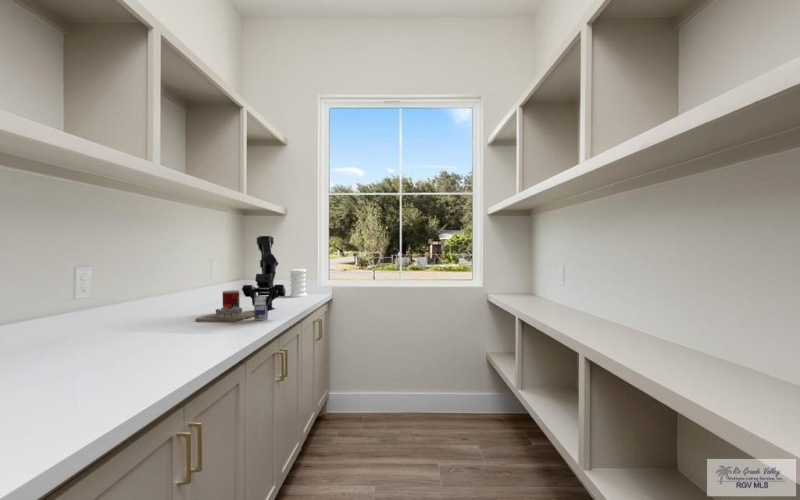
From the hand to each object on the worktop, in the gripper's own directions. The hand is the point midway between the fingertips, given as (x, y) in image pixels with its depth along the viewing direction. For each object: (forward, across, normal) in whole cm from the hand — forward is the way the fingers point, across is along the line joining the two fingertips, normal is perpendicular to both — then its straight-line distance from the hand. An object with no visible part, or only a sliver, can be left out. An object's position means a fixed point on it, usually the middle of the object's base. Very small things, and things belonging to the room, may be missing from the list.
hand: (259, 305), depth 188 cm
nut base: (0, -16, +9) cm, 19 cm away
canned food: (-12, -23, +22) cm, 34 cm away
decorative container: (-65, -8, +74) cm, 99 cm away
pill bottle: (+4, 0, +6) cm, 7 cm away
